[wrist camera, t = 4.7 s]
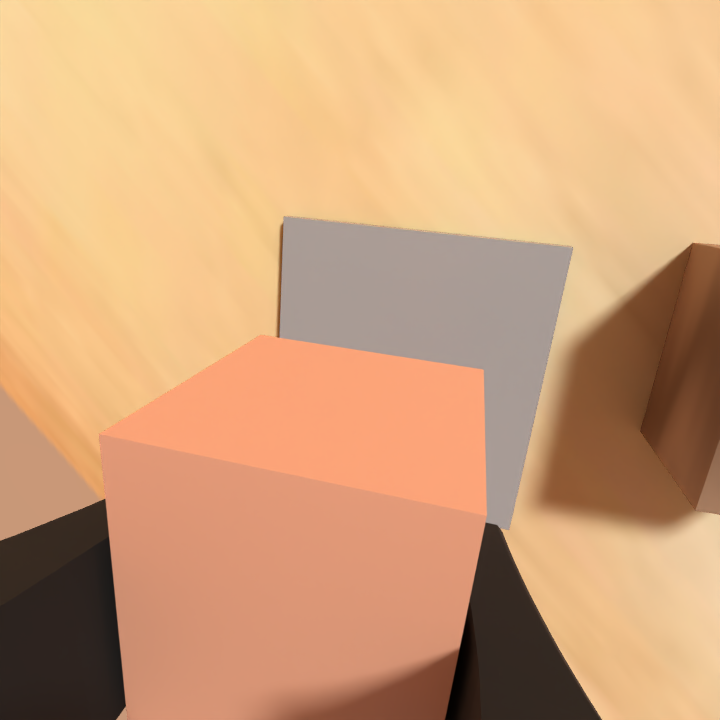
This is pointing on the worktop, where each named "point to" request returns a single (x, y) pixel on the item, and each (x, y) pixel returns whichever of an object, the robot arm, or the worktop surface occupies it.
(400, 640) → the terracotta block
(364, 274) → the baseplate
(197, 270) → the worktop surface
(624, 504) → the worktop surface
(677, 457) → the walnut block
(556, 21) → the worktop surface
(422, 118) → the worktop surface
